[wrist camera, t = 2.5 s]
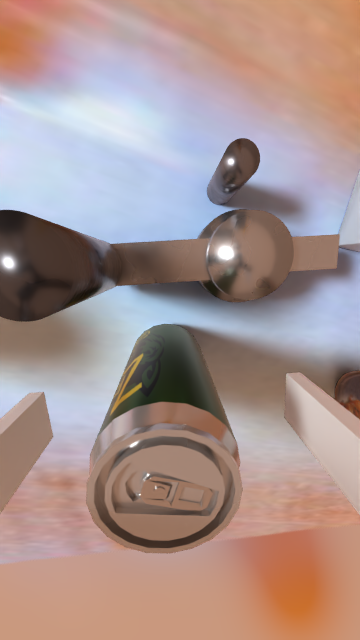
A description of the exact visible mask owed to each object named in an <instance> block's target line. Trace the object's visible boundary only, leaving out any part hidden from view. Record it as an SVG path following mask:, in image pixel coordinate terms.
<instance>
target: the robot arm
mask: <svg viewBox="0 0 360 640" xmlns="http://www.w3.org/2000/svg"><path fill="white" fill-rule="evenodd" d="M284 418H285V419H286V420H287V421H288V423H289V424H290V425H291V427H292V428H293V429H294V431H295V432H296V433H297V434H298V436H299V437H300V438H301V440H302V441H303V442H304V443H305V445H306V446H307V447H308V449H309V450H310V451H311V453H312V454H313V455H314V456H315V458H316V459H317V460H318V462H319V463H320V464H321V465H322V467H323V468H324V469H325V471H326V472H327V473H328V475H329V476H330V477H331V478H332V480H333V481H334V482H335V484H336V485H337V486H338V487H339V489H340V490H341V491H342V493H343V494H344V495H345V497H346V498H347V499H348V500H349V502H350V503H351V504H352V506H353V507H354V508H355V509H356V511H357V512H358V513H359V515H360V419H358V418H357V417H356V416H355V415H353V414H352V413H351V412H349V411H348V410H347V409H346V408H344V407H343V406H342V405H341V404H339V403H338V402H337V401H336V400H334V399H333V398H332V397H331V396H329V395H328V394H327V393H326V392H324V391H323V390H322V389H321V388H319V387H318V386H317V385H316V384H314V383H313V382H312V381H310V380H309V379H308V378H307V377H305V376H304V375H303V374H302V373H300V372H296V373H286V391H285V413H284ZM52 438H53V433H52V429H51V424H50V419H49V414H48V410H47V405H46V400H45V395H44V392H38V393H29V394H28V395H27V396H25V397H24V398H23V399H22V400H21V401H20V402H19V403H18V404H16V405H15V406H14V407H13V408H12V409H11V410H10V411H9V412H8V413H6V414H5V415H4V416H3V417H2V418H1V419H0V514H1V512H2V511H3V509H4V508H5V506H6V505H7V503H8V502H9V500H10V499H11V497H12V496H13V495H14V493H15V492H16V490H17V489H18V487H19V486H20V484H21V483H22V481H23V480H24V479H25V477H26V476H27V474H28V473H29V471H30V470H31V468H32V467H33V465H34V464H35V463H36V461H37V460H38V458H39V457H40V455H41V454H42V452H43V451H44V449H45V448H46V447H47V445H48V444H49V442H50V441H51V439H52Z"/></svg>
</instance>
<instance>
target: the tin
mask: <svg viewBox="0 0 360 640" xmlns="http://www.w3.org/2000/svg"><path fill="white" fill-rule="evenodd" d="M335 400H336V401H337V402H338V403H339V404H341V405H342V406H343V407H344V408H346V409H347V410H348V411H349V412H351V413H352V414H353V415H355V416H356V417H357V418H358V419H360V371H352V372H349V373H346V374H345V375H343V376H342V377H341V378H340V379H339V381H338V383H337V385H336V388H335Z"/></svg>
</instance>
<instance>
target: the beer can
mask: <svg viewBox="0 0 360 640" xmlns="http://www.w3.org/2000/svg"><path fill="white" fill-rule="evenodd" d="M239 466H240V458H239V453H238V447H237V442H236V440H235V437H234V435H233V432H232V429H231V427H230V424H229V422H228V419H227V416H226V414H225V411H224V409H223V406H222V404H221V401H220V398H219V396H218V393H217V391H216V388H215V385H214V383H213V380H212V378H211V375H210V373H209V370H208V367H207V365H206V362H205V360H204V357H203V354H202V352H201V349H200V347H199V344H198V343H197V341H196V339H195V338H194V336H193V335H192V334H191V333H190V332H188V331H187V330H186V329H184V328H182V327H179V326H177V325H171V324H162V325H157V326H153V327H152V328H150V329H148V330H146V331H144V333H143V334H142V335H141V336H140V337H139V338H138V339H137V341H136V343H135V346H134V348H133V350H132V353H131V355H130V358H129V360H128V363H127V365H126V368H125V370H124V373H123V375H122V377H121V380H120V382H119V385H118V387H117V390H116V392H115V395H114V397H113V400H112V402H111V405H110V407H109V409H108V412H107V414H106V417H105V419H104V422H103V424H102V427H101V429H100V432H99V434H98V436H97V439H96V441H95V444H94V446H93V449H92V451H91V454H90V472H89V475H90V476H89V478H88V481H87V494H86V504H87V506H88V509H89V511H90V514H91V516H92V519H93V521H94V523H95V524H96V525H97V526H98V527H99V528H100V529H101V530H102V531H103V533H104V534H105V535H106V536H107V537H109V538H111V539H112V540H114V541H116V542H117V543H119V544H121V545H123V546H124V547H127V548H130V549H134V550H138V551H142V552H145V553H173V552H178V551H183V550H188V549H192V548H194V547H197V546H199V545H201V544H203V543H205V542H207V541H209V540H211V539H213V538H214V537H215V536H216V535H217V534H218V533H220V532H221V531H222V530H223V529H224V528H225V527H227V526H228V524H229V523H230V521H231V520H232V518H233V517H234V515H235V513H236V512H237V510H238V509H239V504H240V500H241V495H242V491H243V488H242V482H241V477H240V471H239Z"/></svg>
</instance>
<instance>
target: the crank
mask: <svg viewBox="0 0 360 640" xmlns="http://www.w3.org/2000/svg"><path fill="white" fill-rule="evenodd" d="M339 239H340V234H338V235H321V236H304V237H291V235H290V232H289V231H288V229H287V227H286V226H285V225H284V223H283V222H282V221H281V220H280V219H279V218H277V217H276V216H274V215H272V214H270V213H268V212H265V211H260V210H248V211H243V212H240V213H237V214H235V215H233V216H232V217H230V218H228V219H227V220H226V221H225V222H223V223H222V224H221V225H219V226H218V227H217V228H216V229H215V230H214V231H213V233H212V234H211V235H210V237H209V238H207V239H190V240H173V241H155V242H138V243H120V244H110V243H107V242H105V241H102V240H99V239H96V238H93V237H91V236H88V235H85V234H82V233H80V232H77V231H74V230H71V229H69V228H66V227H63V226H60V225H58V224H55V223H52V222H49V221H46V220H44V219H41V218H38V217H35V216H33V215H30V214H27V213H24V212H20V211H14V210H0V316H1V317H3V318H6V319H10V320H14V321H35V320H39V319H42V318H45V317H47V316H49V315H52V314H54V313H56V312H59V311H61V310H63V309H66V308H68V307H70V306H72V305H75V304H77V303H79V302H82V301H84V300H86V299H89V298H91V297H93V296H96V295H98V294H100V293H103V292H105V291H107V290H109V289H112V288H114V287H116V286H122V285H137V284H153V283H169V282H184V281H200V280H210V281H211V282H212V284H213V285H214V286H215V287H216V288H218V289H219V290H220V291H222V292H224V293H226V294H228V295H230V296H232V297H234V298H238V299H243V300H253V299H258V298H262V297H264V296H267V295H269V294H270V293H272V292H273V291H275V290H276V289H277V288H278V287H279V286H280V285H281V284H282V283H283V282H284V280H285V279H286V277H287V276H288V274H289V272H290V271H304V270H320V269H336V268H337V259H338V249H339Z"/></svg>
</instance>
